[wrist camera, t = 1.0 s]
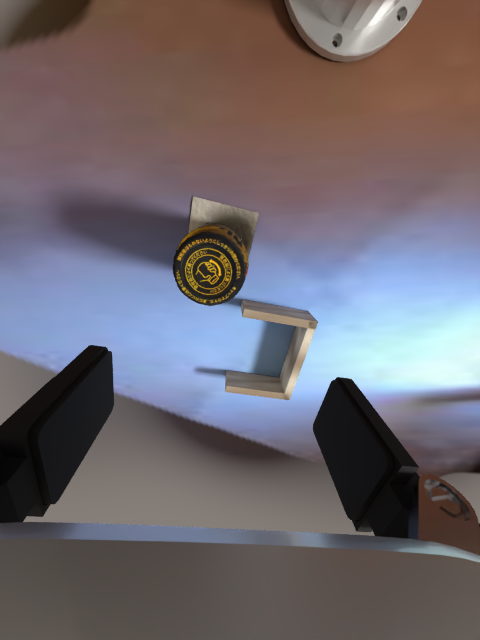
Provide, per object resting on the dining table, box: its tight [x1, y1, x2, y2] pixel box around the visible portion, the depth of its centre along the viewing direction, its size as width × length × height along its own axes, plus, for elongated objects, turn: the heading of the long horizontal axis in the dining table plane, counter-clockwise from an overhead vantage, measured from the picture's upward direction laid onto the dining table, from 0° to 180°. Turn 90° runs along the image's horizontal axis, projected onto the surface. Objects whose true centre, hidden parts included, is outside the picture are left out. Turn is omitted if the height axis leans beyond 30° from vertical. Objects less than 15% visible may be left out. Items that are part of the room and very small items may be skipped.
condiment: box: [173, 197, 259, 306], centre depth 21 cm, size 7×8×12 cm
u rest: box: [225, 299, 318, 400], centre depth 31 cm, size 12×9×4 cm
